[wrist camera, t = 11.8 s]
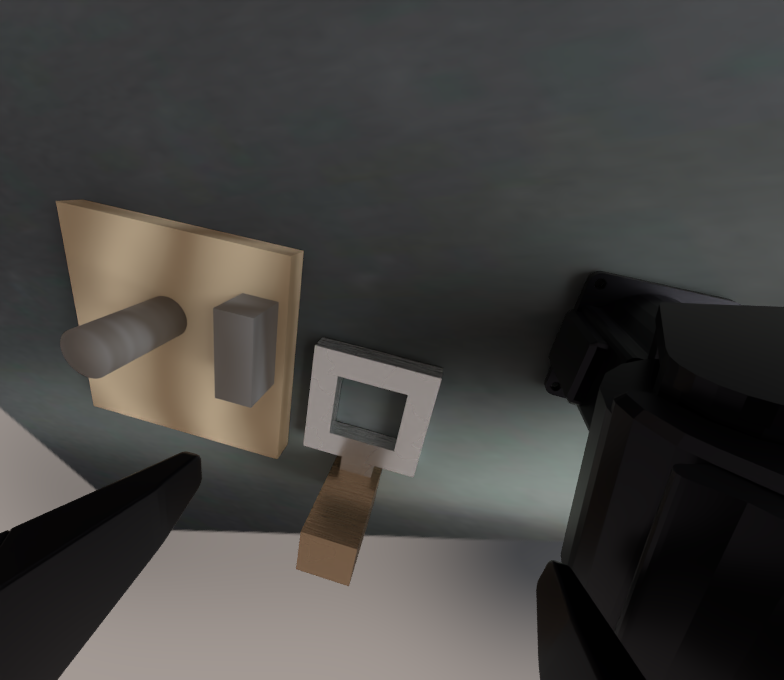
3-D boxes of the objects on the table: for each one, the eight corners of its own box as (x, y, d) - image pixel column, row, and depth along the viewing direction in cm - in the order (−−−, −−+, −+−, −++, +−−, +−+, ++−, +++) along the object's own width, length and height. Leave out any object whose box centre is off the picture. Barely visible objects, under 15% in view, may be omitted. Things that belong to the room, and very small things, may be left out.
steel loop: (443, 368, 21) (433, 435, 15) (403, 508, 25) (385, 597, 20) (322, 336, 21) (272, 390, 16) (305, 478, 26) (261, 557, 21)
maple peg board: (303, 250, 20) (232, 281, 14) (287, 444, 25) (231, 525, 19) (82, 199, 21) (-69, 208, 15) (113, 394, 26) (10, 455, 20)
